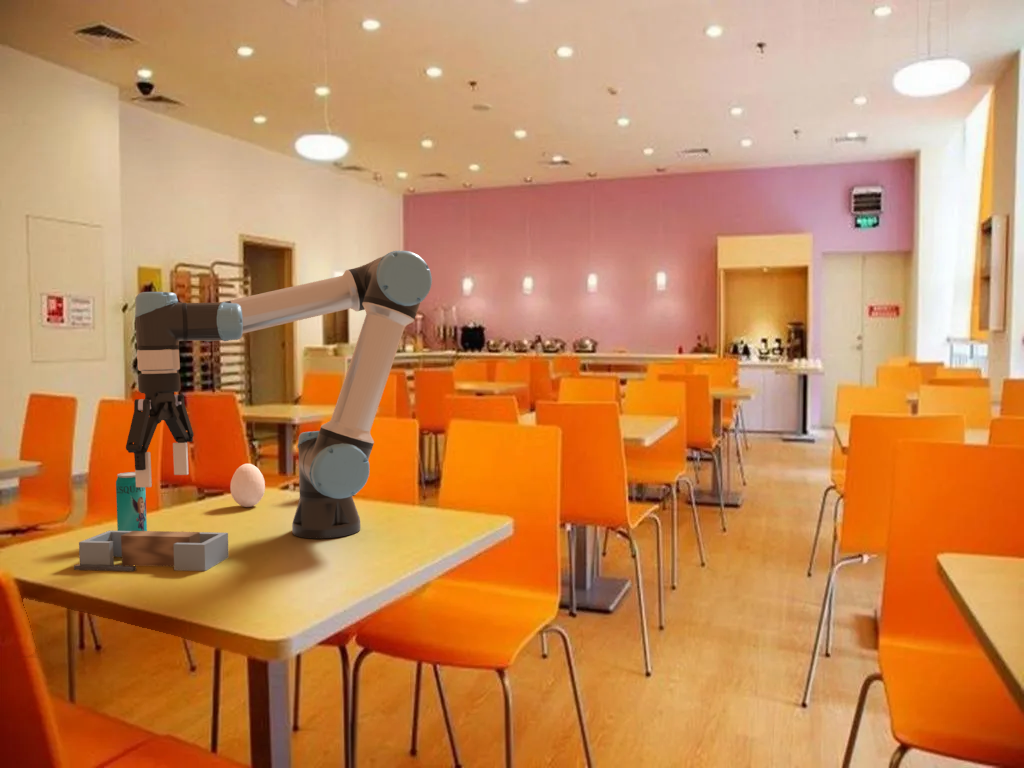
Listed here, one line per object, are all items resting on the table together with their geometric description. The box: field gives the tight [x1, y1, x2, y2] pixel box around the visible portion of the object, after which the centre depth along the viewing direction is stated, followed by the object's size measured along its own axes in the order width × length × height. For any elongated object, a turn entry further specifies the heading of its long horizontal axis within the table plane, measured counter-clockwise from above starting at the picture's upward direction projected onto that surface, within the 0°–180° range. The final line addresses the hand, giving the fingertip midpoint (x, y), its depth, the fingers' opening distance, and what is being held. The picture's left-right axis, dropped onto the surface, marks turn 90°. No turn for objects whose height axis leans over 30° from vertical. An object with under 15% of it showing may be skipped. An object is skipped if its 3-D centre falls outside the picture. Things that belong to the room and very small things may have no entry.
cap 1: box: [78, 530, 131, 565], centre depth 160 cm, size 6×10×5 cm, turn 174°
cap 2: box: [173, 531, 229, 572], centre depth 157 cm, size 6×10×5 cm, turn 174°
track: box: [73, 563, 137, 572], centre depth 159 cm, size 12×12×1 cm
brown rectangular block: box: [121, 530, 201, 567], centre depth 158 cm, size 14×4×6 cm, turn 84°
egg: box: [229, 463, 266, 508], centre depth 211 cm, size 9×9×11 cm
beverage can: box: [115, 471, 148, 531], centre depth 175 cm, size 6×6×15 cm
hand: (163, 480), depth 158 cm, fingers open, 13 cm apart
